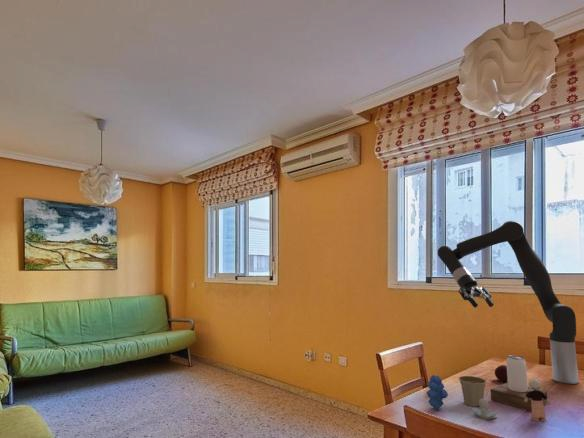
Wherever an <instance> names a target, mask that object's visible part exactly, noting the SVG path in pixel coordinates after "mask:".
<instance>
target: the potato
mask: <svg viewBox="0 0 584 438" xmlns="http://www.w3.org/2000/svg"><path fill="white" fill-rule="evenodd" d="M494 375H495V377H496V379H497V380H499V381H500V382H502V383H507V382H508V379H507V365H505V364H501V365H498V366H497V367H496V368H495V369H494Z"/></svg>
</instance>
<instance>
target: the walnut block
mask: <svg viewBox="0 0 584 438" xmlns="http://www.w3.org/2000/svg"><path fill="white" fill-rule="evenodd" d="M529 391H534V390H533V389H532V388H531V387H530V386H528V391H527V392H525V393H520V392H514V391H511V390H509V388H508V382H504V383H503V384H500V385H497V386H495V387H492V388H490V400H491V401H492V402H497V403H499V402H500V404H504V405H507V406H511V407H514V408H518V409H521V410H525V411H529V412H532V406H531V398H530V399H528V401H527V402H524V399H525V395H526V394H527V393H528V392H529ZM538 391H542V392H543V393H544V394H545V395H546V396H547V397H548V391H547V390H546V391H545V390H541V389H539V390H538ZM542 401H543V405H544V406H545V405H548V404H547V403H546V401H545V400H544V399H543V398H542Z"/></svg>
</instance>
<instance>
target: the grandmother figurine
mask: <svg viewBox="0 0 584 438" xmlns="http://www.w3.org/2000/svg"><path fill="white" fill-rule="evenodd" d="M528 385H529V387H530V388H532V389H533V390H534V391H529V392H528V393H527V394H526V395H525V399H524V402H527V401H528V399H530V398H531V406H532V411H531V413H532V416H531V420H533V421H536V422H539V421H542V422H547V418H546V411H545V405H543V401H542V398H543V399H544V400H545V401H546V403H547V404H546V405H551V402H550V401H549V398H548V395H547V396H546V395H545V394H544V393H543V392H542V391H543V390H542V391H538V390H541V388H542V384H541V382H540V380H539V379H537V378H536V379H535V378H533V379H531V380H530V381H529V384H528Z"/></svg>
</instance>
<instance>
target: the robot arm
mask: <svg viewBox="0 0 584 438" xmlns="http://www.w3.org/2000/svg"><path fill="white" fill-rule="evenodd" d="M506 242H507V243H508V244H509V246H510V247H511V249H512V251H513V253H514V256H515V257H516V261H517V263H518V265H519V268H520V271H522V273H523V276H524V277H525V278H526V281H527V282H528V284H529V286H530V287H531V289H532V291H533V292H534V294H535V296H536V297H537V300H538V302H539V304H540V306H541V308H542V311H543V313H544V315H545V318H546V319H547V320H548V321H549V322H551V323H552V330H551V332H549V345H550V356H551V358H550V359H551V371H552V372H551V373H552V374H551V375H552V379H553V381H556V382H559V383H562V384H572V385H573V384H574V385H576V384H579V374H578V359H577V350H576V337H577V319H576V318H577V317H576V313H575V311H574V310H573V308H572V307H570V306H569V305H566V304H563V303H561V301H560V300H559V298H558V297H557V296H556V294H555V293H554V289H553V285H552V280H551V277H550V273H549V272H548V269H547V268H546V266H545V265H544V263H543V261H542V260H541V258H540V257H539V255H538V254H537V253H536V251H535V250H534V249H533V247H532V246H531V245H530V243H529V240H528V238H527V236H526V234H525V231H524V227H523V226H522V224H521V223H520V222H518V221H516V220H507V221H504V223H503V224H502V225H501V226H499V227H497V228H495V229H494V230H492V231H490V232H489V231H488V232H487V233H483V234H481V235H478V236H474V237H471V238H469V239H465V240H464V241H463V240H462V241H461V242H458V243H456V248H455V249H453V250H452V248H451V247H449V246H446V245H443V246H439V248H438V250H437V256H438V258H439V259H440V260H441V262H443V264H444V265H445V266H446V268H447V270H448V271H449V273H450V274H451V276H452V277H453V279H454V280H455V282H456V284H457V285H458V286H459V289H458V293H459V294H460V296H461V297H462V299H463V301H468V302H469V303H470V305H471V306H473V308H474V309H477V308H478V306H479V304H478V302H477V301H476V299H475V298H479V299H482V300H484V301H485V303H486V304H487V305H488V307H489V308H493V306H494V301H492V299H491V298H492V297H493V294H492V293H490V291H489V289H487V287H485V286H482V287H480V286H478V282H477V280H476V279H475V278H474V276H473V275H472V273H471V272H470V271H469V270H468V269H467V268H466V266H465V265H464V264H463V263H462V262H461V260H462V259H463V258H465V257H466V256H468V255H472V254H474V253H477V252H480V251H482V250H484V249H486V248H489V247H493V246H495V245H498V244H502V243H506Z"/></svg>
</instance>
